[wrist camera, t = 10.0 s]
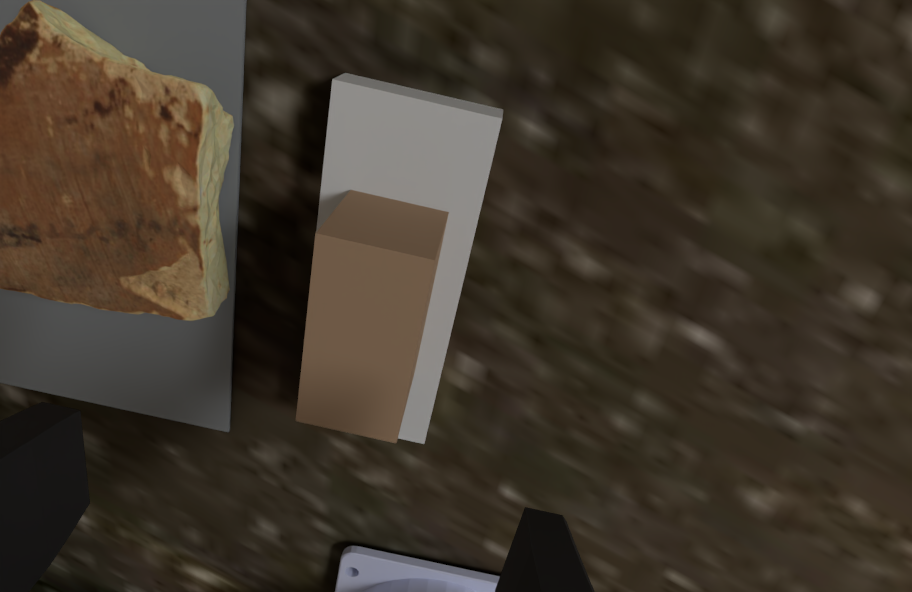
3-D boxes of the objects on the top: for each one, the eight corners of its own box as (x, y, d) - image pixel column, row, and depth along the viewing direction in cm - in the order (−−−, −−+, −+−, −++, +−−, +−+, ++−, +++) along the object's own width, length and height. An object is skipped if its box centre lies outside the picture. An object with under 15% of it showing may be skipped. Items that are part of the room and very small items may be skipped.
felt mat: (229, 430, 20) (228, 432, 20) (-79, 363, 20) (-82, 364, 20) (247, -31, 14) (245, -31, 14) (-206, -137, 14) (-212, -138, 13)
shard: (-128, 232, 18) (-192, 256, 16) (-209, -61, 14) (-300, -68, 13) (231, 309, 18) (203, 340, 16) (238, 38, 14) (204, 44, 13)
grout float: (430, 413, 20) (409, 520, 16) (311, 387, 20) (259, 488, 16) (503, 107, 15) (499, 148, 11) (348, 71, 15) (288, 100, 11)
